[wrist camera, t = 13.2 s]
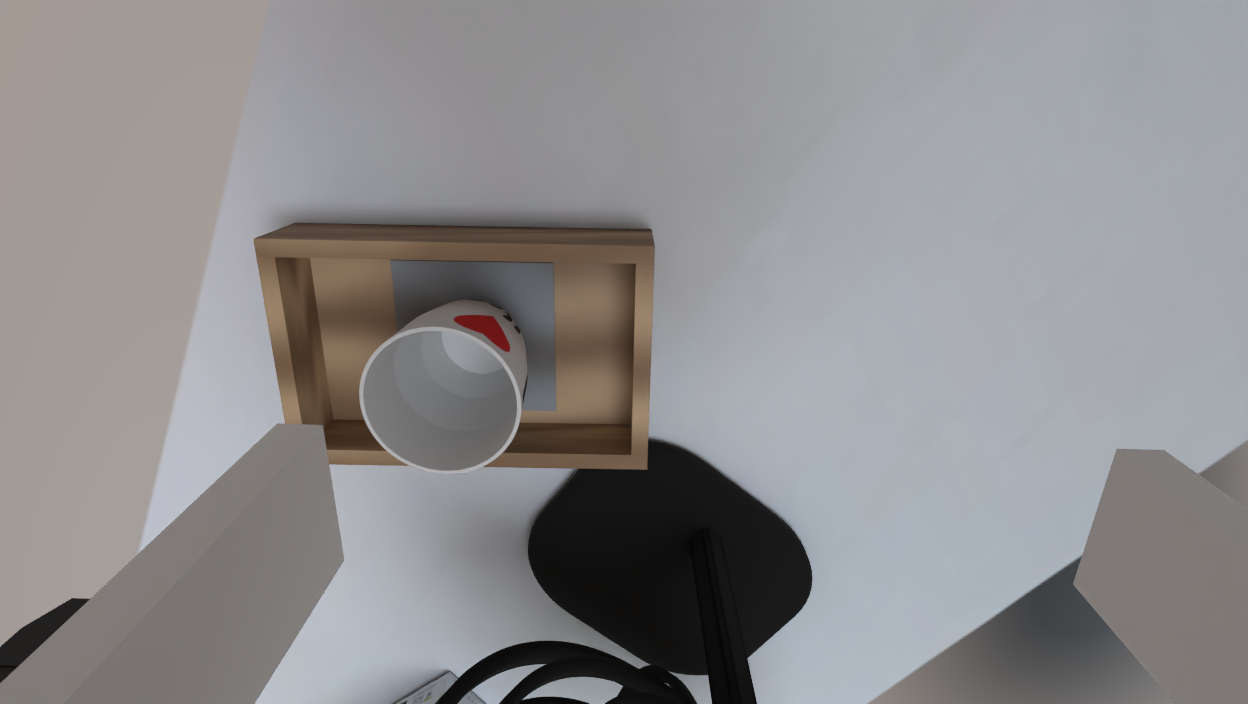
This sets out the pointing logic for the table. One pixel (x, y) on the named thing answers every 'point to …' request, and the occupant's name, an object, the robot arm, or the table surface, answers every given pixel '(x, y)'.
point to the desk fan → (657, 583)
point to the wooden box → (469, 270)
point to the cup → (447, 388)
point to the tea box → (438, 692)
